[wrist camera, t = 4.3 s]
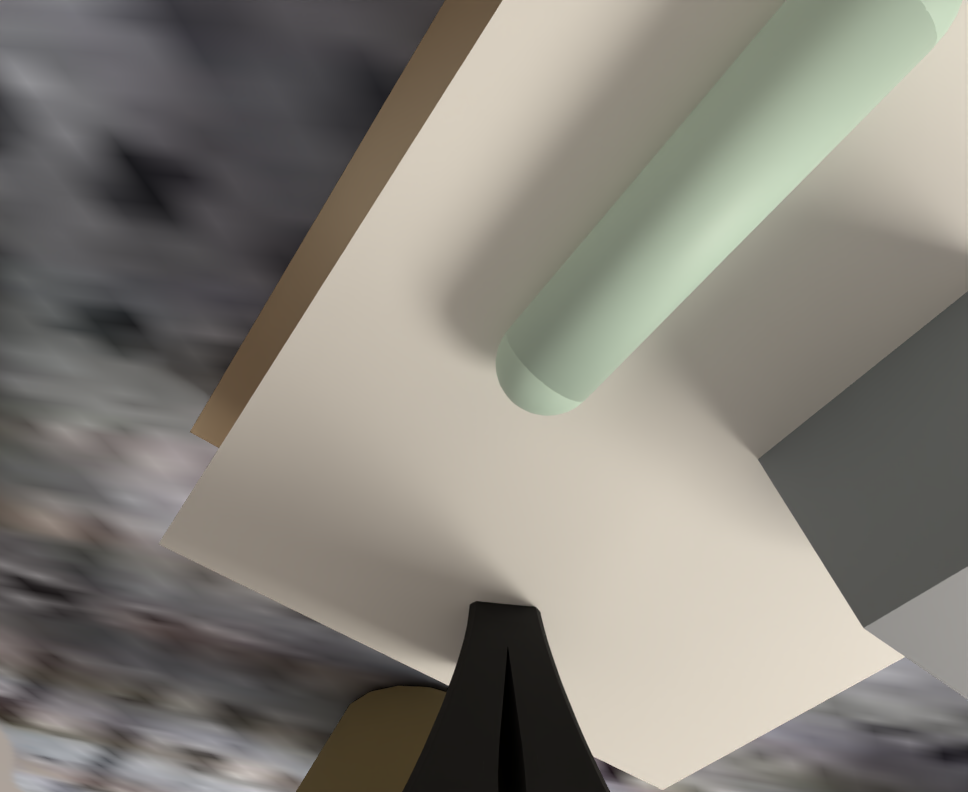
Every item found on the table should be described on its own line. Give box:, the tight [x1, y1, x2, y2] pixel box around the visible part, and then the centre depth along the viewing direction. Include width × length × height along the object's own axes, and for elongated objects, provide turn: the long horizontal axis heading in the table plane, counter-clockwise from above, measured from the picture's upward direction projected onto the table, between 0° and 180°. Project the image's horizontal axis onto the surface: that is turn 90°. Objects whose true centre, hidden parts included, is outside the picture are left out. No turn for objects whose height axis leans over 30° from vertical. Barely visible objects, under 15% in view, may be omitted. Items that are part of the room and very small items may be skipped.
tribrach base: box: [190, 0, 503, 448], centre depth 11 cm, size 15×22×4 cm
